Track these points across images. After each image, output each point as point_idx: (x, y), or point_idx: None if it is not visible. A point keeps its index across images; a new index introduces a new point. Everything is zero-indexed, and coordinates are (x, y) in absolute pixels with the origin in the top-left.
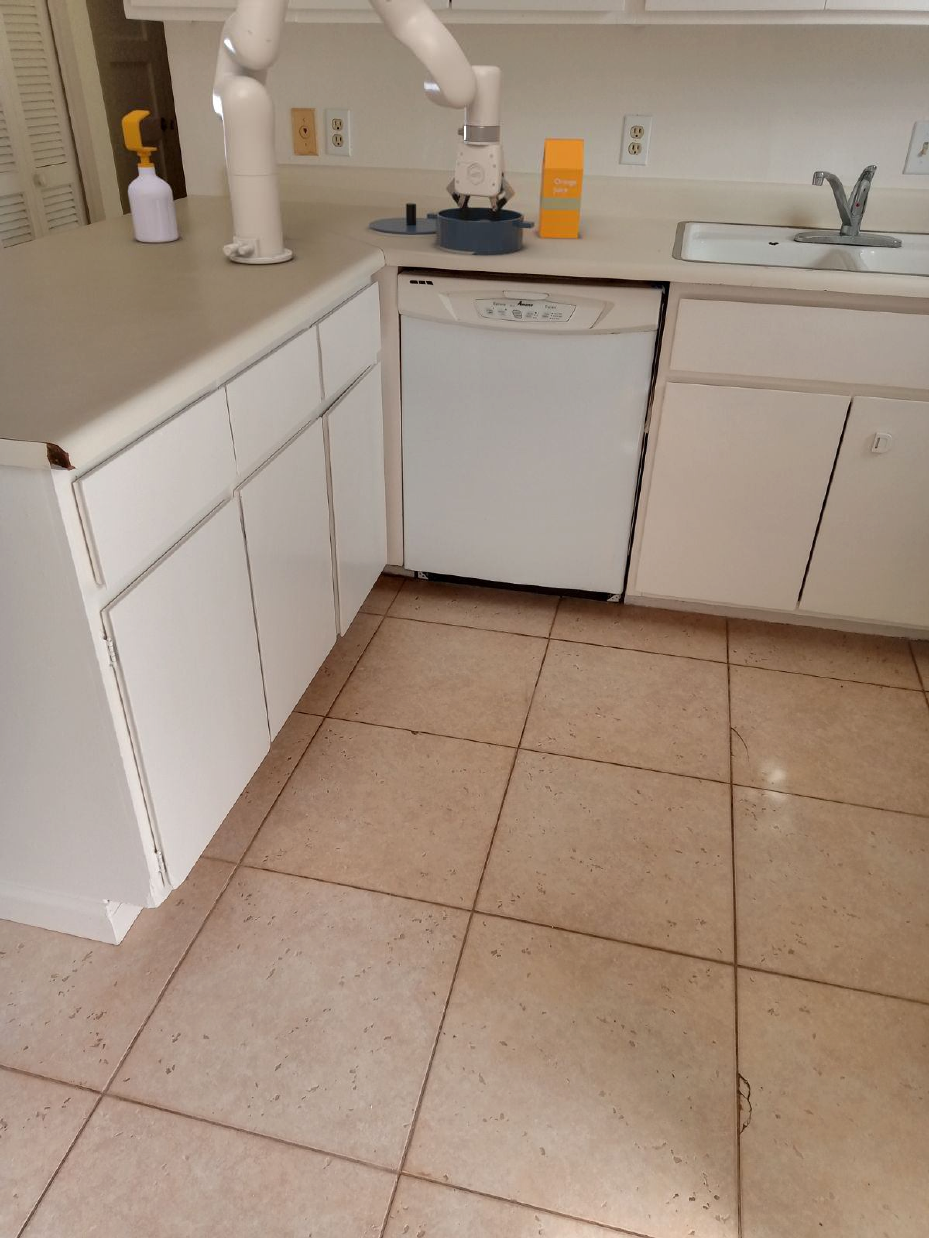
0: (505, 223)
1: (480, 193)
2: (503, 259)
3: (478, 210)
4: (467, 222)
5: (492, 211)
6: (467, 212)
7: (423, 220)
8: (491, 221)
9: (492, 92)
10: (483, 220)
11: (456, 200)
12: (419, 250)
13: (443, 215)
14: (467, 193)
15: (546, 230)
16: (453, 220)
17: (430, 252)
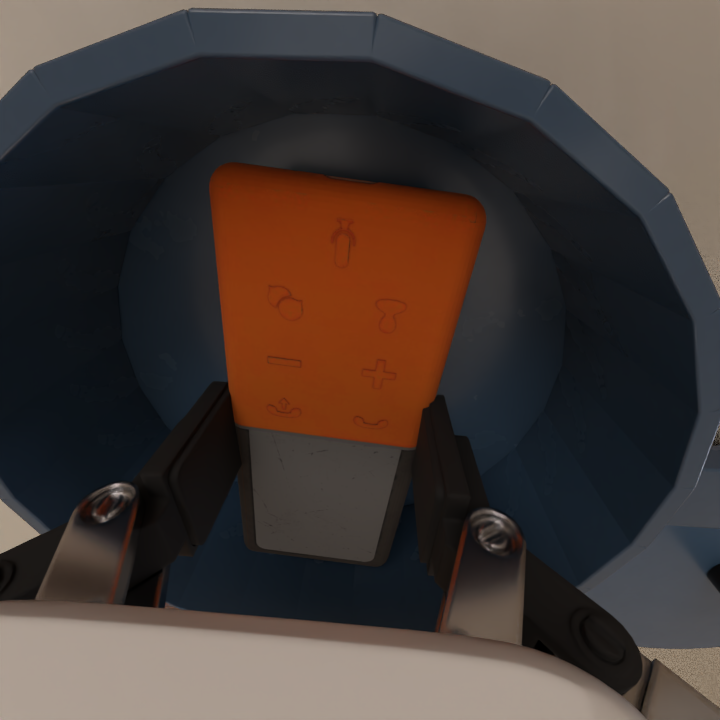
0: None
1: (125, 663)
2: (9, 54)
3: (412, 623)
4: (205, 16)
5: (142, 477)
6: (423, 513)
7: (671, 626)
8: None
9: None
10: (358, 542)
11: (558, 596)
12: (688, 68)
13: (616, 504)
14: (389, 663)
15: None
16: (448, 45)
17: (587, 26)
